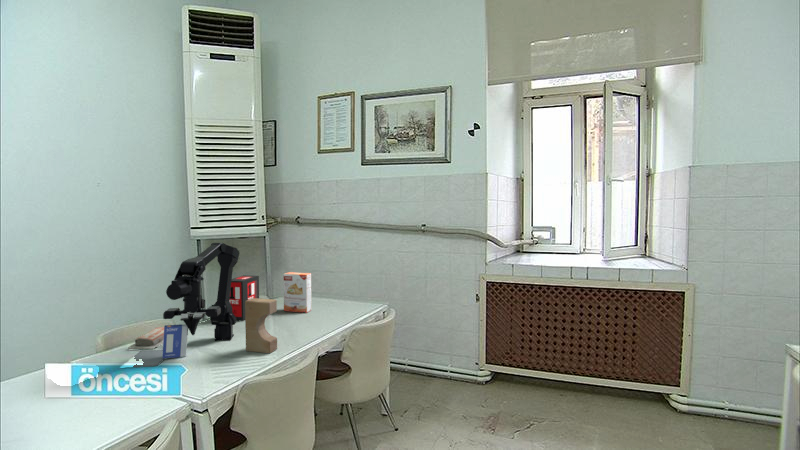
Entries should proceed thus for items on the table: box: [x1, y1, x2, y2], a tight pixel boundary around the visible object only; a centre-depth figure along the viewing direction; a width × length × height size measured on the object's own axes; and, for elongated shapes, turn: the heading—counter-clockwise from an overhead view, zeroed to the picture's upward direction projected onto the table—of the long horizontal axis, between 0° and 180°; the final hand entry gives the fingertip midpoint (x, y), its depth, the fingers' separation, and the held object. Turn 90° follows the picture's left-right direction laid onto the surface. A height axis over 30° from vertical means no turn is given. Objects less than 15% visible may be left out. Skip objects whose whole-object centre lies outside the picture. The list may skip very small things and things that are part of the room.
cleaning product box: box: [229, 274, 260, 322], centre depth 208 cm, size 16×9×20 cm, turn 172°
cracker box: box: [283, 271, 312, 313], centre depth 219 cm, size 14×6×21 cm, turn 76°
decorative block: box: [244, 297, 278, 354], centre depth 158 cm, size 11×6×20 cm, turn 73°
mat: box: [133, 349, 166, 368], centre depth 149 cm, size 12×16×1 cm
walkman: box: [162, 323, 189, 359], centre depth 150 cm, size 8×3×12 cm, turn 118°
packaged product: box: [127, 326, 164, 350], centre depth 167 cm, size 18×5×10 cm
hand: (193, 334), depth 151 cm, fingers closed
